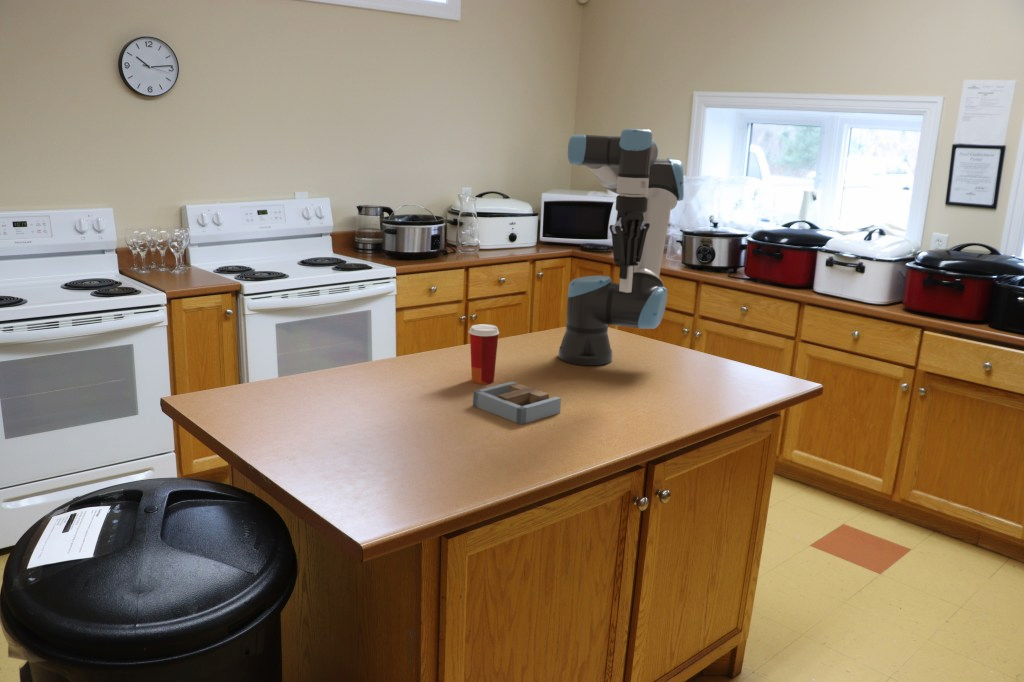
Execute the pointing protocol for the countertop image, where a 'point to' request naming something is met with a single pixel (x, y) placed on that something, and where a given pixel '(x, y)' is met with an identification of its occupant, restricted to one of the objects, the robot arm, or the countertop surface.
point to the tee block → (523, 395)
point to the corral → (514, 405)
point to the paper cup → (483, 352)
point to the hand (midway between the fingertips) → (625, 291)
